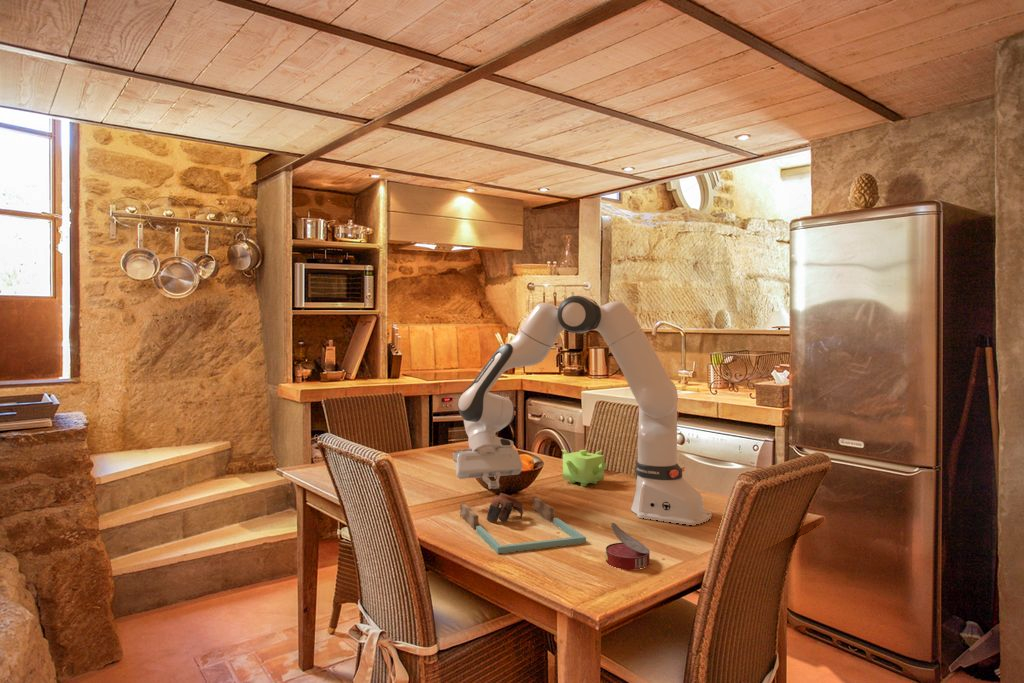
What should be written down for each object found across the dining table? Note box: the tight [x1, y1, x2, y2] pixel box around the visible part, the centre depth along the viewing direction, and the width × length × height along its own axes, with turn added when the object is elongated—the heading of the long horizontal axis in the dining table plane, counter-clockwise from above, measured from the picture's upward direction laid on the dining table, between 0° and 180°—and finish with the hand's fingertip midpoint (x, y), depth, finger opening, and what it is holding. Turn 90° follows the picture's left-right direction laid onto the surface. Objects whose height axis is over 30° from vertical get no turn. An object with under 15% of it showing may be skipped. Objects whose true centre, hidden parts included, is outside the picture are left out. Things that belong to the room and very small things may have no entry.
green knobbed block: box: [561, 449, 608, 488], centre depth 223 cm, size 15×14×11 cm
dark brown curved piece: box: [486, 492, 524, 524], centre depth 180 cm, size 12×10×8 cm
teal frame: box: [475, 517, 587, 555], centre depth 166 cm, size 17×23×2 cm
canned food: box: [605, 522, 651, 570], centre depth 150 cm, size 11×10×10 cm
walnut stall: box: [459, 496, 555, 530], centre depth 182 cm, size 13×23×4 cm, turn 110°
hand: (494, 487), depth 192 cm, fingers closed
